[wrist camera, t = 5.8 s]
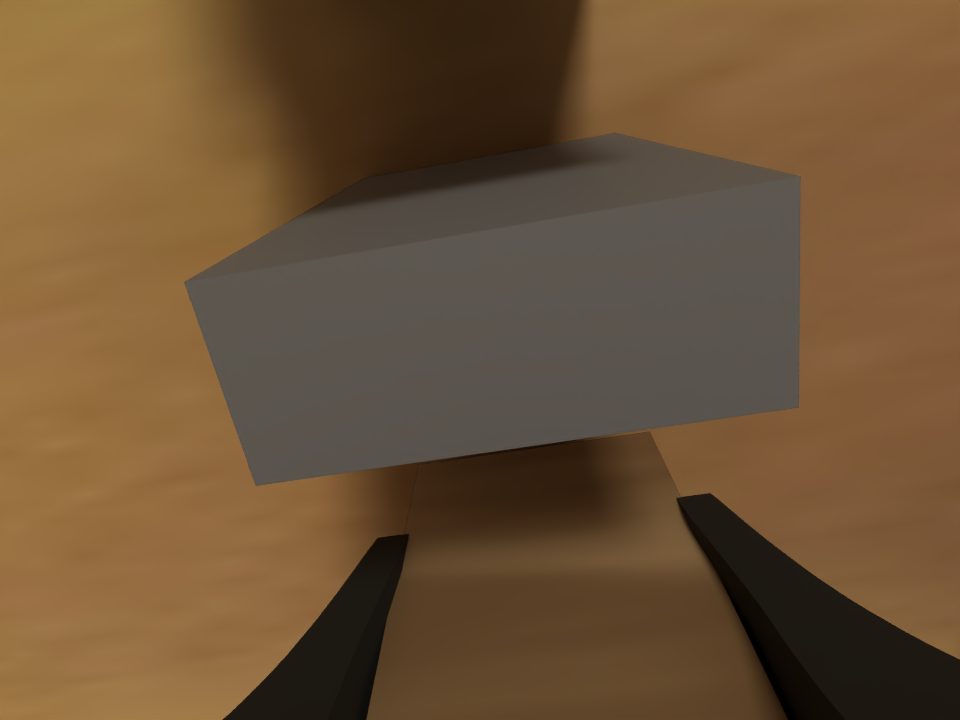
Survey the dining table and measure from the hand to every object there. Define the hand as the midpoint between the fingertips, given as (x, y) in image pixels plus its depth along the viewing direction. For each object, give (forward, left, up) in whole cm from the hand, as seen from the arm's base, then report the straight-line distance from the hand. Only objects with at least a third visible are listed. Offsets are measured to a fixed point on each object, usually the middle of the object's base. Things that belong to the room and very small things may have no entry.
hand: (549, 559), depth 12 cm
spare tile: (0, 0, -2) cm, 2 cm away
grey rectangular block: (+6, 0, -3) cm, 7 cm away
